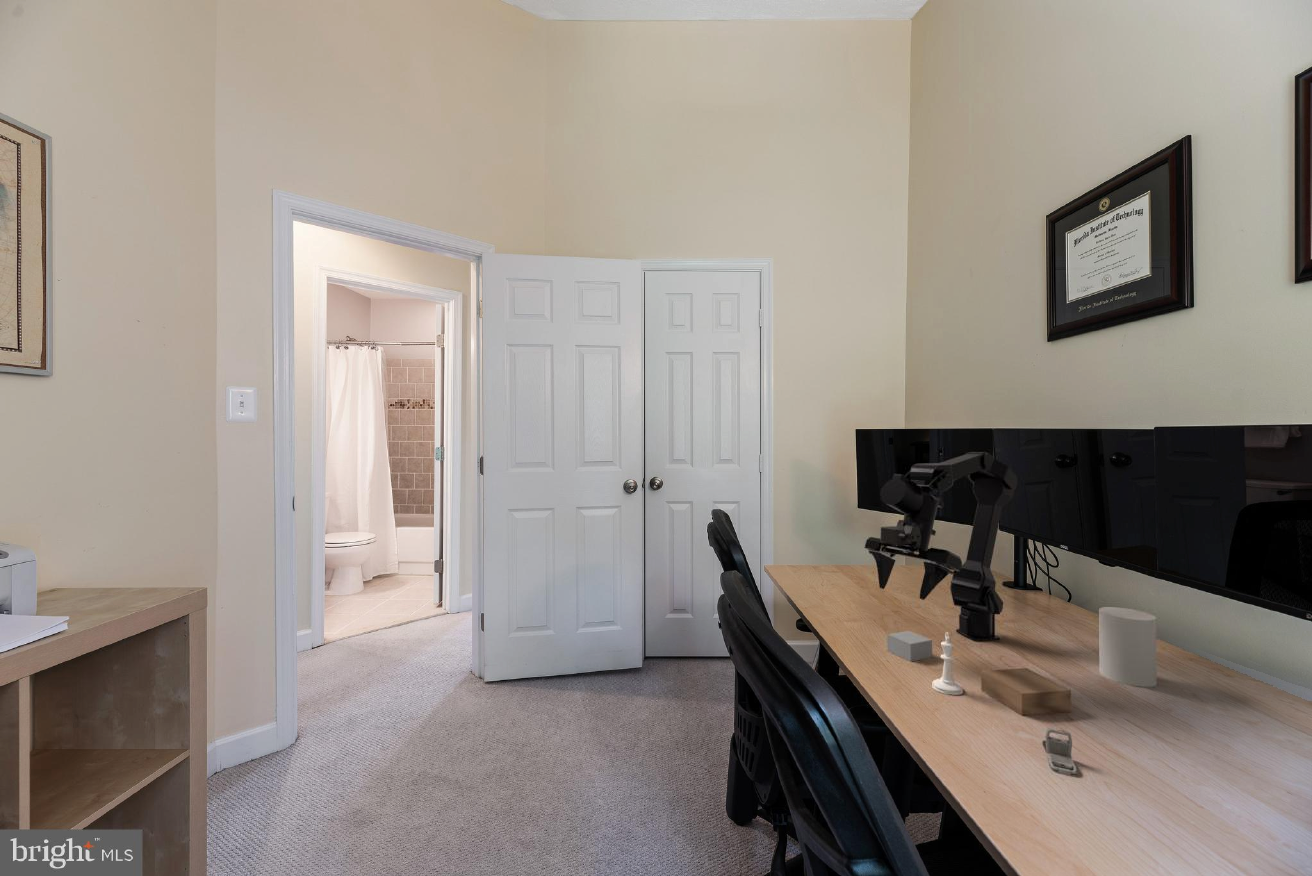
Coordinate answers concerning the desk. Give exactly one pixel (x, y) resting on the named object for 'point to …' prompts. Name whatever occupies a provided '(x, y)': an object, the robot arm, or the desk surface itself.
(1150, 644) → the white cylinder
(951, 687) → the chess piece
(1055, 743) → the grey sandwich maker
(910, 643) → the slate block
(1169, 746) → the desk surface
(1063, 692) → the walnut block
